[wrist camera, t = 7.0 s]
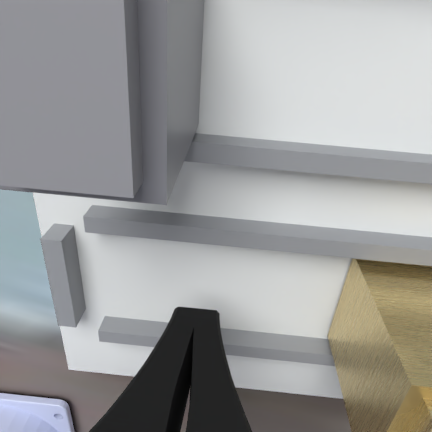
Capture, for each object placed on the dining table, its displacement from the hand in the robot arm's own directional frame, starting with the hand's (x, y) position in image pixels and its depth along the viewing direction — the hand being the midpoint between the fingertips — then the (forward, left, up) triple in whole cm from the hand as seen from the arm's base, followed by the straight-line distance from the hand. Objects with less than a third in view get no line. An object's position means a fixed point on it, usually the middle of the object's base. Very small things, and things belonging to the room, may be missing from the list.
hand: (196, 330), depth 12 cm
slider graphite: (+8, +2, -2) cm, 9 cm away
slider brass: (0, -7, -2) cm, 7 cm away
